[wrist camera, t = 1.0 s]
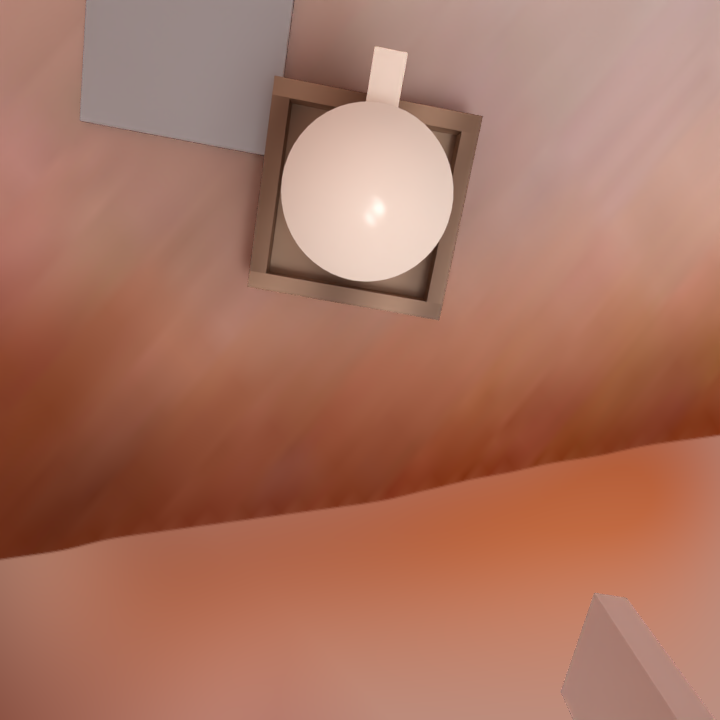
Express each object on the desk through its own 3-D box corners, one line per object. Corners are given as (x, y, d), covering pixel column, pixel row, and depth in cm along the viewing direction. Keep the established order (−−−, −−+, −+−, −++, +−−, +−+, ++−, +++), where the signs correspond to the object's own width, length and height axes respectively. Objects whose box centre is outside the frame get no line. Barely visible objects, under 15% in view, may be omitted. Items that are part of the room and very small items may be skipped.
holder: (469, 127, 35) (482, 116, 31) (431, 311, 38) (439, 320, 34) (282, 90, 34) (274, 75, 31) (256, 281, 37) (247, 286, 34)
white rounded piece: (436, 113, 33) (484, 51, 21) (405, 271, 35) (433, 294, 23) (320, 90, 32) (304, 14, 21) (296, 251, 35) (270, 265, 23)
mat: (301, -55, 32) (300, -59, 32) (273, 157, 35) (272, 156, 35) (95, -99, 32) (91, -103, 31) (82, 121, 34) (79, 120, 34)
